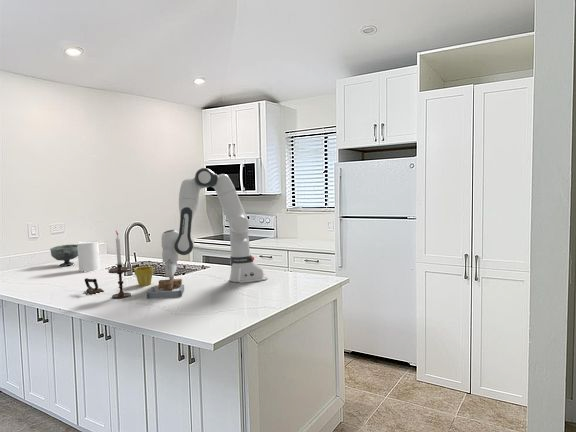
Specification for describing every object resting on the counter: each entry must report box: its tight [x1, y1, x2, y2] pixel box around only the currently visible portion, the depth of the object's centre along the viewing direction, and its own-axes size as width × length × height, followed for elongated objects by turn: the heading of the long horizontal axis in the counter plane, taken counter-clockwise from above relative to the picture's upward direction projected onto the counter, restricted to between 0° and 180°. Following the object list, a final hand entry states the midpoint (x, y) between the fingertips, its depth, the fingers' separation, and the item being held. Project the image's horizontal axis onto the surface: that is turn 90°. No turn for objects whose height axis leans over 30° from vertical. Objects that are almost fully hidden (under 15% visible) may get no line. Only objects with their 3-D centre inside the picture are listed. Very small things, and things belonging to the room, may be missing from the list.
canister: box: [76, 240, 101, 272], centre depth 292 cm, size 14×14×20 cm
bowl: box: [49, 244, 78, 267], centre depth 316 cm, size 20×19×15 cm
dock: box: [146, 284, 185, 300], centre depth 216 cm, size 17×14×3 cm
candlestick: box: [108, 230, 132, 300], centre depth 214 cm, size 11×11×35 cm
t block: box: [158, 278, 183, 291], centre depth 228 cm, size 12×12×4 cm
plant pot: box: [134, 266, 154, 287], centre depth 241 cm, size 10×10×10 cm
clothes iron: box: [84, 277, 105, 295], centre depth 227 cm, size 7×11×10 cm, turn 57°
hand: (171, 281), depth 238 cm, fingers closed
